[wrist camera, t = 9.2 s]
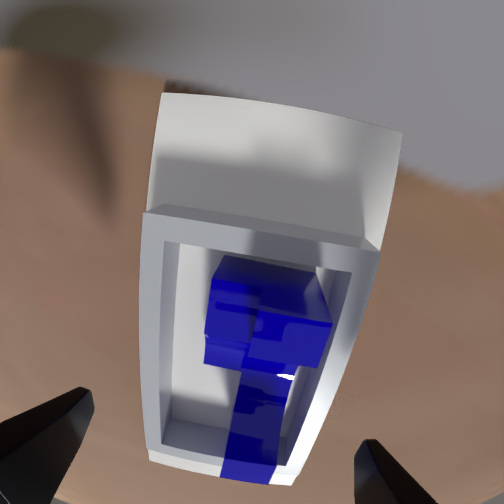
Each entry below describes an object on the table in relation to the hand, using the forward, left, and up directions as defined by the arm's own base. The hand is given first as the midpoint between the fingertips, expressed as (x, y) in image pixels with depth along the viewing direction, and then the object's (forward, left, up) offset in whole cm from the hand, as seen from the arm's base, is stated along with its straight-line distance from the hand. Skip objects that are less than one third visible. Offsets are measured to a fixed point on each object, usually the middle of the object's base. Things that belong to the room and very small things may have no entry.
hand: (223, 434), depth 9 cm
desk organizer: (0, 0, -5) cm, 5 cm away
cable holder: (-1, 0, -5) cm, 5 cm away
